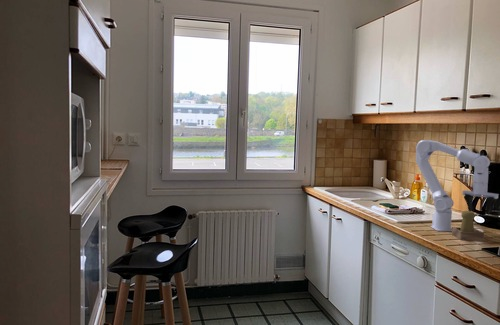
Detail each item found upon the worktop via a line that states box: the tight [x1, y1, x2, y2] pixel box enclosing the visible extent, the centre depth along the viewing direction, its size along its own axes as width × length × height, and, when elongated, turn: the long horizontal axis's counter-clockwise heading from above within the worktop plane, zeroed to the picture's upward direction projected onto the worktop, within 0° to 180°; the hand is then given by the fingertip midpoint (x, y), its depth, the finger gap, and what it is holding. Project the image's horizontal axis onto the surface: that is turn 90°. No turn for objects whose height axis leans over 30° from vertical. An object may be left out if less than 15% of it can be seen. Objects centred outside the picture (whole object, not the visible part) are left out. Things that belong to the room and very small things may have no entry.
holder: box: [451, 226, 485, 242], centre depth 189 cm, size 10×10×4 cm
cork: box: [460, 210, 476, 232], centre depth 188 cm, size 6×6×11 cm
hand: (479, 212), depth 194 cm, fingers open, 7 cm apart
